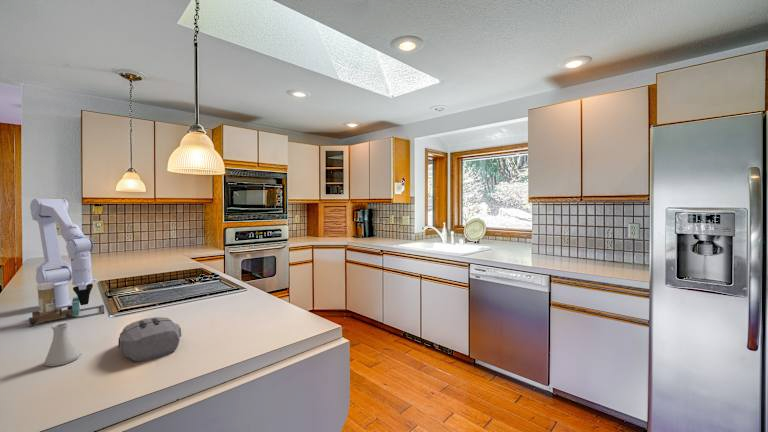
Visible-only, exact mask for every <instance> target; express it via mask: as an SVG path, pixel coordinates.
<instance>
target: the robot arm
mask: <svg viewBox="0 0 768 432" xmlns="http://www.w3.org/2000/svg"><path fill="white" fill-rule="evenodd" d="M29 208H30V214H31V218H32V221H36V222H37V224H38V229H39V234H40V241H41V246H42V252H43V258H44V261H43V262H42V263H41V264H40V265H39V266H38V267H36V269H35V270H36V271H35V272H36V275H35V281H36V282H37V285H38V284H41V283H48V282H53V283H54V285H55V287H54V294H55V302H56V308H58V307H61V308H64V307H68V306H71V305H72V299H70V294H69V283H71V285H72V286H73V287H72V290H73V292H74V293H75V295H76V297H78V299H79V306H86V305H89V300H90V295H91V292H92V290H93V287H94V286H93V285H94V284H93V282H97V278H93V269H92V268H93V267H92V266H93V265H92V255H91V252H93V250H94V241H93V239H92V238H91V236H88V235H85V234H84V233H83V231H82V229H81V228H80V226H79V225H78V224H75V223H73V222H72V220H71V218H70V217H71V216H70V215H69V213H68V212H69V202H68V200H67V199H66V198H64V197H63V198H33V199H32V200H31V202H30V205H29ZM56 223H57V224H56ZM57 225H58V226H59V227H60V228H59V234H60V235H61V237H62V238H63V239H64V242H65V243H66V246H65V249H66V251H67V255H68V258H69V260H70V262H68V261H65V260H63V259H62V256H61V249H60V243H59V237H58V232H57V231H58V230H57Z"/></svg>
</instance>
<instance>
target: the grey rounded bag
mask: <svg viewBox="0 0 768 432" xmlns="http://www.w3.org/2000/svg"><path fill="white" fill-rule="evenodd" d="M181 337H182V329H181V327H180V325H179V324H178V323H175V322H173V320H172V319H170V318H168V317H161V316H160V317H159V316H158V317H157V316H156V317H148V318H143V319H139V320H136V321H133V322H131V323H130V324H127V325H125V327H124V328H123V329H122V331H121V332H120V333H119V336H118V346H117V347H118V349H119V350H120V352H121V353H123V355H124V357H126V358H129V359H130V360H132V361H133V362H145V361H149V360H152V359H156V358H161V357H163V356H165V355H169V354H171V353H173V352H175V351H177V348H178V347H179V344H180V342H181V340H180V339H181Z"/></svg>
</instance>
